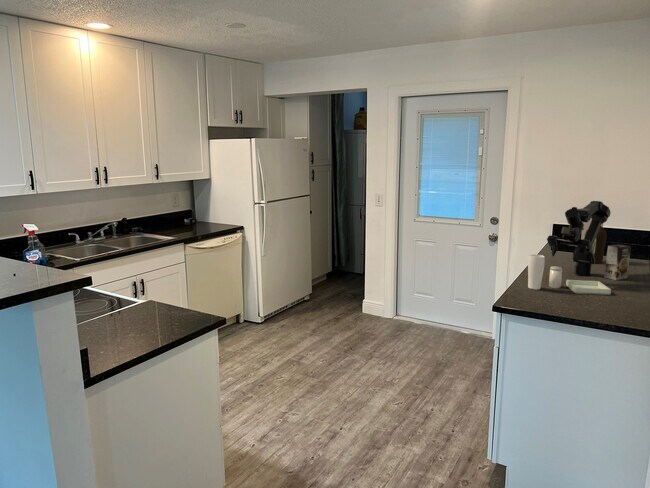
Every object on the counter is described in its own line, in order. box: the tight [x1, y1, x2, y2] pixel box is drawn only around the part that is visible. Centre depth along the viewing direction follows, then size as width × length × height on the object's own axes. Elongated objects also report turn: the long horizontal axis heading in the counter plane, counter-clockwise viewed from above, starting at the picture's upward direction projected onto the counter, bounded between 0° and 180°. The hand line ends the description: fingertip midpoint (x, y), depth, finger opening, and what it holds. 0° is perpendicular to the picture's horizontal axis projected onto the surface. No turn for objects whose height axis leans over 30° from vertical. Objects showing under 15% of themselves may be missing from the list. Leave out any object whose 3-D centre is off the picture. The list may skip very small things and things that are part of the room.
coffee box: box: [603, 244, 632, 281], centre depth 242 cm, size 9×6×16 cm
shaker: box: [548, 265, 563, 289], centre depth 226 cm, size 5×5×9 cm
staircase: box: [580, 218, 604, 240], centre depth 309 cm, size 8×12×26 cm
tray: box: [565, 279, 612, 296], centre depth 222 cm, size 14×14×2 cm
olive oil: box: [585, 226, 608, 265], centre depth 276 cm, size 11×11×25 cm
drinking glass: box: [527, 254, 546, 291], centre depth 223 cm, size 7×7×15 cm
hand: (562, 257), depth 229 cm, fingers open, 9 cm apart
